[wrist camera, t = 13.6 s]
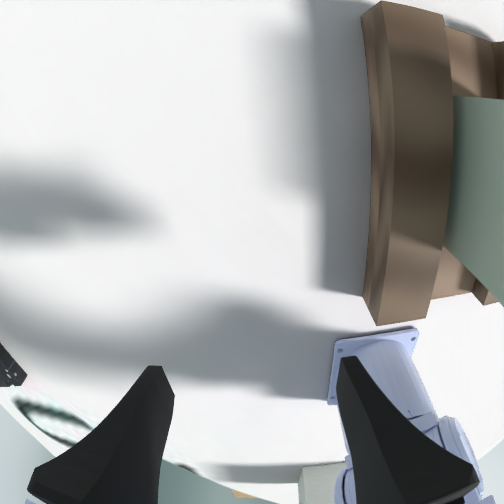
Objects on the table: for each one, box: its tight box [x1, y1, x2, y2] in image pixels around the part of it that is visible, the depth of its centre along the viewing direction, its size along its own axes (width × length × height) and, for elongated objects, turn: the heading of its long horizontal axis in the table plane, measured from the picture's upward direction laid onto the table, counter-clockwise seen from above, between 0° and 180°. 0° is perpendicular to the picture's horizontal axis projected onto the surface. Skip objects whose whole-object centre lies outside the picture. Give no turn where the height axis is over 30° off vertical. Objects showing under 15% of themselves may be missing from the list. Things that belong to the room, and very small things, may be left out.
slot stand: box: [361, 1, 504, 326], centre depth 16 cm, size 20×14×4 cm
